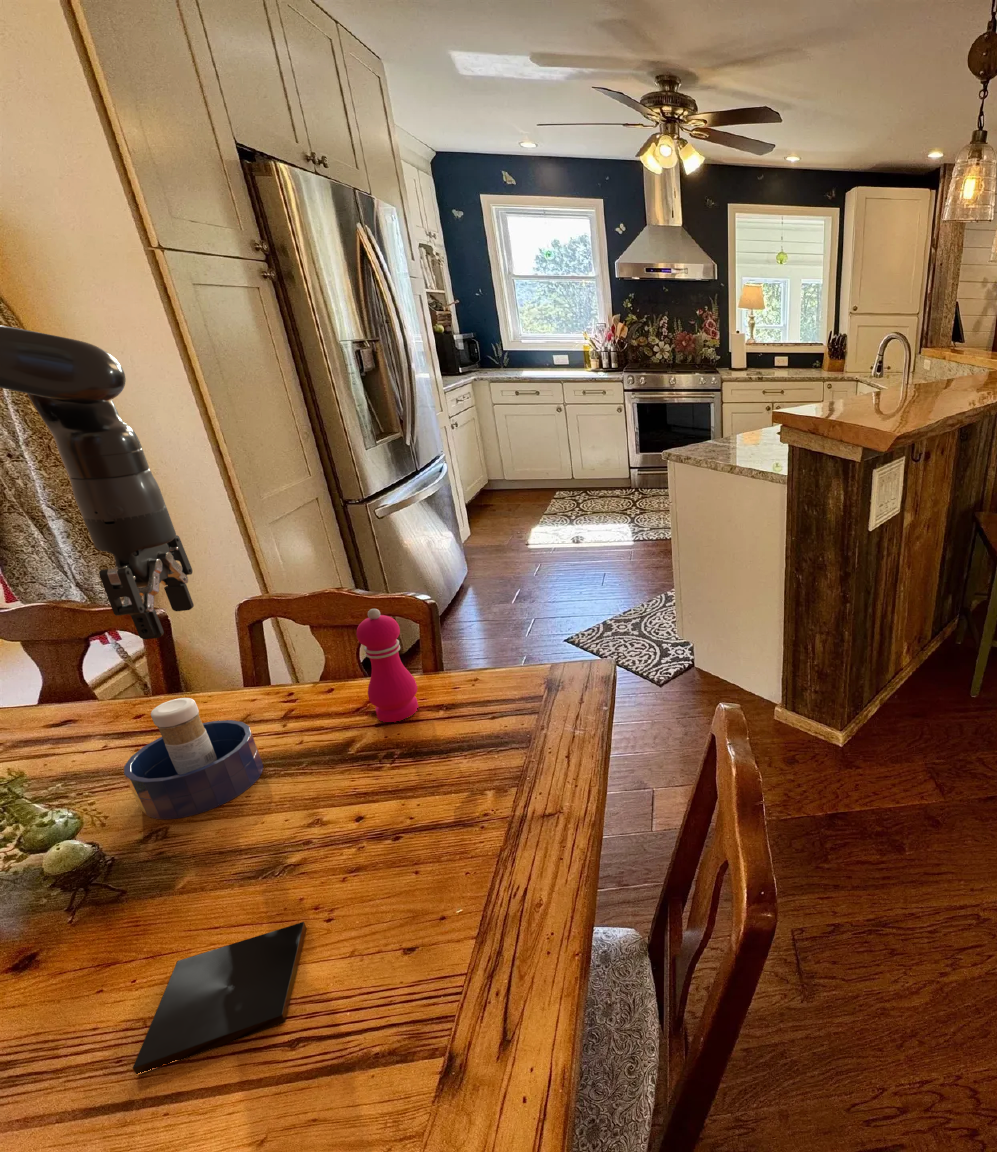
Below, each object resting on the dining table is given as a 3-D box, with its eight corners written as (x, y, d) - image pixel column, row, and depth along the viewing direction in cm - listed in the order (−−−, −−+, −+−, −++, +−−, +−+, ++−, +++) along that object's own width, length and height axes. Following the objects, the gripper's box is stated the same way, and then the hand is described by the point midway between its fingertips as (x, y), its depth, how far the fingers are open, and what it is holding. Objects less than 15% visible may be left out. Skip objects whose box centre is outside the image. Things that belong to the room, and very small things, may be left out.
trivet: (136, 1076, 55) (131, 1068, 55) (180, 968, 64) (176, 960, 64) (285, 1022, 60) (282, 1014, 59) (307, 928, 69) (304, 921, 68)
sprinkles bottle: (202, 772, 91) (170, 695, 86) (233, 772, 91) (203, 696, 86) (174, 794, 87) (139, 715, 81) (206, 795, 87) (173, 716, 81)
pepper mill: (393, 698, 110) (368, 598, 102) (430, 702, 109) (408, 601, 101) (364, 722, 103) (334, 617, 96) (403, 727, 102) (377, 621, 95)
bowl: (123, 831, 81) (104, 793, 78) (162, 768, 92) (147, 733, 89) (250, 801, 86) (236, 765, 84) (272, 745, 97) (260, 711, 95)
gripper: (118, 495, 82) (160, 605, 88) (47, 527, 69) (102, 652, 76) (188, 492, 84) (225, 598, 90) (131, 522, 72) (178, 643, 78)
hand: (169, 623), depth 83 cm, fingers open, 8 cm apart
